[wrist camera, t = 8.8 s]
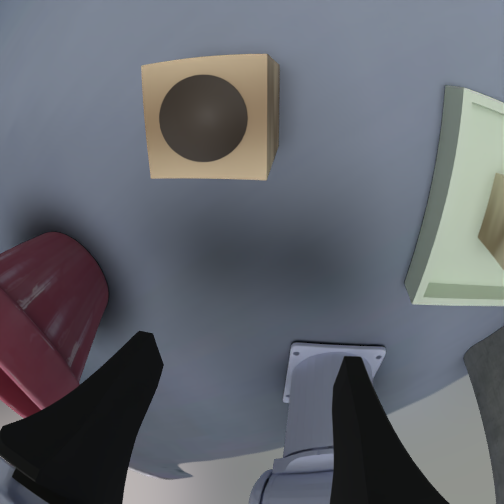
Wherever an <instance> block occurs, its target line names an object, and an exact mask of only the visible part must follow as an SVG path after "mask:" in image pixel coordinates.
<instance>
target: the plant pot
mask: <svg viewBox="0 0 504 504" xmlns="http://www.w3.org/2000/svg"><path fill="white" fill-rule="evenodd" d="M108 298H109V293H108V286H107V283H106V280H105V277H104V275H103V273H102V271H101V269H100V267H99V265H98V264H97V262H96V261H95V259H94V258H93V257H92V256H91V254H90V253H89V252H88V251H87V250H86V249H85V248H84V247H83V246H82V245H81V244H79V243H78V242H77V241H76V240H74V239H72V238H71V237H69V236H67V235H65V234H62V233H59V232H47V233H44V234H42V235H40V236H37V237H35V238H33V239H31V240H28V241H26V242H24V243H22V244H20V245H17V246H15V247H13V248H11V249H9V250H7V251H5V252H3V253H1V254H0V400H2V401H3V402H4V403H5V404H6V405H8V406H9V407H10V408H11V409H12V410H14V411H15V412H16V413H18V414H19V415H20V416H22V417H23V418H26V417H28V416H31V415H33V414H35V413H37V412H39V411H41V410H43V409H44V408H46V407H48V406H50V405H51V404H53V403H55V402H56V401H58V400H59V399H61V398H63V397H64V396H66V395H67V394H68V393H70V392H71V391H73V390H74V389H75V388H77V387H78V386H79V385H80V384H79V380H80V378H81V375H82V372H83V369H84V366H85V363H86V360H87V357H88V354H89V351H90V348H91V345H92V343H93V340H94V337H95V334H96V331H97V328H98V326H99V323H100V320H101V318H102V315H103V313H104V310H105V308H106V306H107V303H108Z"/></svg>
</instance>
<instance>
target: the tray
mask: <svg viewBox="0 0 504 504" xmlns="http://www.w3.org/2000/svg"><path fill="white" fill-rule="evenodd" d="M496 173H499V174H502V175H504V103H503V102H500V101H498V100H495V99H493V98H491V97H488V96H486V95H483V94H480V93H478V92H475V91H472V90H469V89H466V88H463V87H456V86H448V85H445V95H444V107H443V116H442V125H441V132H440V140H439V146H438V153H437V158H436V164H435V170H434V175H433V180H432V185H431V189H430V194H429V198H428V203H427V207H426V211H425V215H424V219H423V223H422V227H421V230H420V234H419V238H418V241H417V245H416V248H415V251H414V255H413V258H412V261H411V264H410V267H409V270H408V273H407V276H406V279H405V282H404V284H405V286H406V289H407V292H408V294H409V297H410V300H411V303H412V304H420V305H455V306H504V270H503V269H502V267H501V266H500V265H499V263H498V262H497V261H496V260H495V258H494V257H493V256H492V254H491V253H490V252H489V251H488V249H487V248H486V247H485V246H484V244H483V243H482V242H481V241H480V240H479V238H478V234H479V231H480V228H481V225H482V222H483V219H484V215H485V212H486V209H487V205H488V202H489V198H490V194H491V190H492V186H493V182H494V178H495V174H496Z"/></svg>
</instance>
